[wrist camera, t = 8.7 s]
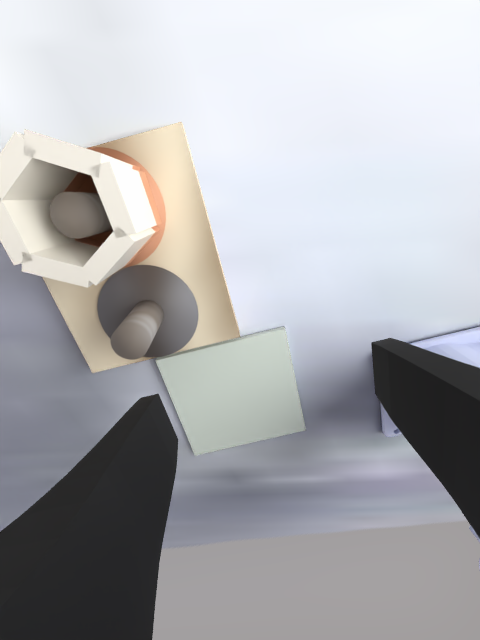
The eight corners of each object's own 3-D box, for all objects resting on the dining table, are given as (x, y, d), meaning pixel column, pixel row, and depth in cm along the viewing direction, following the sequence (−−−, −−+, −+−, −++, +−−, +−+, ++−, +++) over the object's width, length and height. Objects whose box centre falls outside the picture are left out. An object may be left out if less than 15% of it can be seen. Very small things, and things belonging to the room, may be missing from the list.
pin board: (183, 126, 15) (166, 94, 10) (239, 330, 20) (244, 370, 15) (3, 177, 16) (-91, 167, 11) (98, 365, 20) (61, 414, 15)
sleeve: (180, 208, 16) (162, 212, 11) (114, 280, 17) (73, 311, 12) (100, 127, 14) (40, 91, 9) (35, 214, 15) (-47, 220, 11)
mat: (284, 326, 20) (285, 328, 19) (304, 426, 23) (305, 430, 23) (156, 357, 20) (155, 360, 20) (195, 451, 24) (194, 455, 23)
